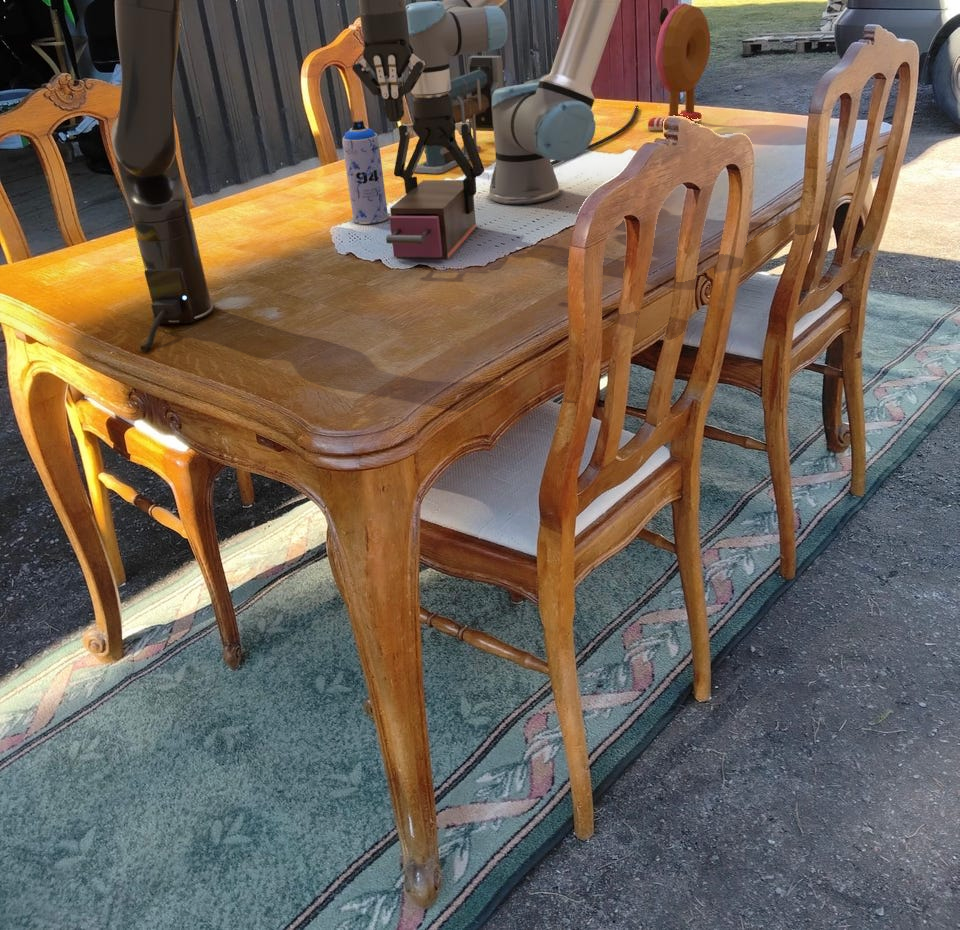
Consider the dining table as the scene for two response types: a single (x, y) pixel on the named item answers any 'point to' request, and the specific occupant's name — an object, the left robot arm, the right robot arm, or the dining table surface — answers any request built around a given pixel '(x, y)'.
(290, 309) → the dining table surface
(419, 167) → the clamp
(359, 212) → the aerosol can
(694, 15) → the toy
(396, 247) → the drawer
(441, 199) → the cabinet
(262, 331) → the dining table surface
